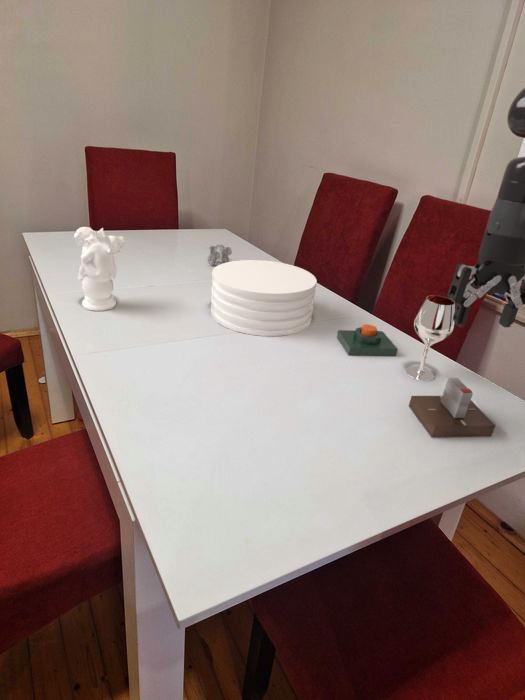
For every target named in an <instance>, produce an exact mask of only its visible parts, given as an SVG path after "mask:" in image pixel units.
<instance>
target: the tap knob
mask: <svg viewBox="0 0 525 700" xmlns="http://www.w3.org/2000/svg"><path fill="white" fill-rule="evenodd" d="M473 395H474V393H473V391H472V390H471V389H470V388H468V387H467V386H466V385H465V383H464V382H463V381H461V380H460V378H459V377H447V380H446V383H445V387H444V390H443V393H442V395H441V396H442V399H441V403H442V404H443V405H444V406H445V407H446V409H447V410H448V411H449V412H450V413H451V415H452V416H453V417H454V418H464V417H465V415H466V412H467V409H468V406H469V403H470V401H472V397H473Z"/></svg>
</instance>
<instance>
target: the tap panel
mask: <svg viewBox="0 0 525 700" xmlns="http://www.w3.org/2000/svg"><path fill="white" fill-rule="evenodd" d="M442 396H443V395H411V396H410V400H409V403H408V408H409V409H410V410H411V412H412V413H413V414H414V416H415V417H416V418H417V420H418V421H419V422H420V424H421V426H423V428H424V429H425V430H426V432H427V433H428V435H429V436H430V437H431V438H472V437H473V438H477V437H478V438H481V437H483V438H484V437H488V438H489V437H492V436H493V434H494V431H495V429H496V426H497V425H496V424H495V423H494V422H493V421H492V419H490V418H489V417H488V416H487V415H486V414H485V413H484V411H482V410H481V409H480V408H479V407H478V406H477V405H476V403H475V402H473V400H471V401H470V403H469V406H468V409H467V412H466V415H465V417H464V418H454V417H453V416H452V415H451V413H450V412H449V411H448V410H447V409H446V407H445V406H444V405H443V404H442V403H441V399H442Z"/></svg>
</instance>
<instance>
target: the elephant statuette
mask: <svg viewBox="0 0 525 700" xmlns="http://www.w3.org/2000/svg"><path fill="white" fill-rule="evenodd" d="M208 249H209V251H210V253H209V254H208V256H207V260H208V262H209V263H208V264H209V265H210V266H215V265H216V262H217V260H219V261H220V264H223V263H227V262H230V258H229V257H230V256H231V255H232V254H233V253H232V252H233V251H232V248H231V247H230V246H224V245H223V244H216V245H209V247H208Z"/></svg>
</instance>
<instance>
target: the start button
mask: <svg viewBox="0 0 525 700" xmlns="http://www.w3.org/2000/svg"><path fill="white" fill-rule="evenodd" d="M361 327H362V330H361V334H363V335H366V336H375V335H376V331H377V330H378V328H377V327H376V326H375V325H373V324H366V323H365V324H363V325H362V326H361Z"/></svg>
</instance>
